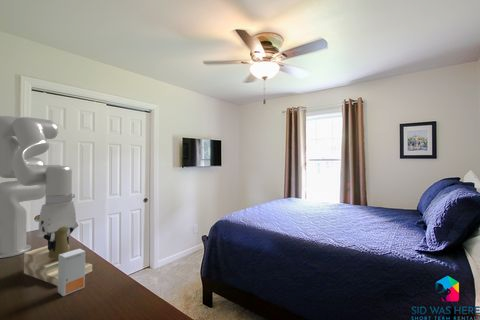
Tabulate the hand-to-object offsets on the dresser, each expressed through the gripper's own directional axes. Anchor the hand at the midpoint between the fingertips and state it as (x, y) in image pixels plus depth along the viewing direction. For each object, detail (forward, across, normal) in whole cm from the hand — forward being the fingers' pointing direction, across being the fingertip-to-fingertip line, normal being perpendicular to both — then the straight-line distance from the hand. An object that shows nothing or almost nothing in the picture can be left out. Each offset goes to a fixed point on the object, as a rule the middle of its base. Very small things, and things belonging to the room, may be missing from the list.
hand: (58, 248), depth 83 cm
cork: (+3, 0, 0) cm, 3 cm away
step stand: (+9, 0, 0) cm, 9 cm away
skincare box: (+9, +5, +17) cm, 20 cm away
